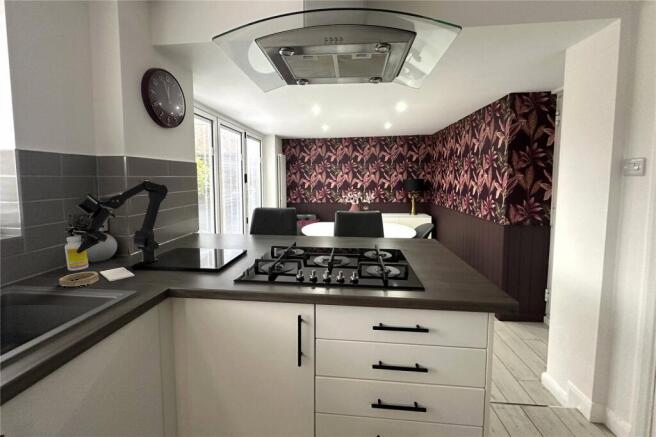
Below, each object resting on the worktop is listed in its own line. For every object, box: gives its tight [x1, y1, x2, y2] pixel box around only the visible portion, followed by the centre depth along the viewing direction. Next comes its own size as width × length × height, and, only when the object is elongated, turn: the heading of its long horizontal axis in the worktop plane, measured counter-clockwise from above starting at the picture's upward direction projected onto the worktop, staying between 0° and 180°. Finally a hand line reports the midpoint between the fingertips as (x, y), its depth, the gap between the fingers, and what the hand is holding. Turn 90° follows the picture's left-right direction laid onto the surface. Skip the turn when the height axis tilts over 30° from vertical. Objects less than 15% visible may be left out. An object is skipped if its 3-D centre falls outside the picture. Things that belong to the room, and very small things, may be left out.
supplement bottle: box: [64, 236, 89, 272], centre depth 129 cm, size 7×7×13 cm
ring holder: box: [58, 271, 100, 287], centre depth 131 cm, size 12×12×2 cm
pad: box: [99, 266, 135, 282], centre depth 140 cm, size 16×9×1 cm, turn 47°
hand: (72, 252), depth 128 cm, fingers closed on supplement bottle, 7 cm apart
